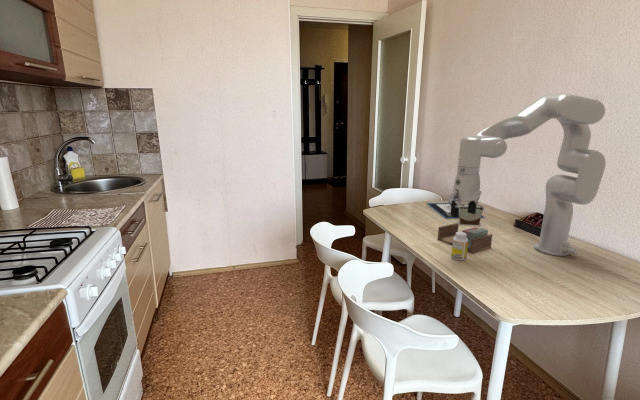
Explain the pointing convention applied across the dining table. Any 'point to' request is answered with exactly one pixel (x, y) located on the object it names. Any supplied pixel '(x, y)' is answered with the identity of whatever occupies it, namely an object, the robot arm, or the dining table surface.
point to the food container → (470, 215)
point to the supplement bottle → (460, 246)
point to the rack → (475, 236)
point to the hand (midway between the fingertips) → (462, 215)
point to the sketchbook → (444, 209)
